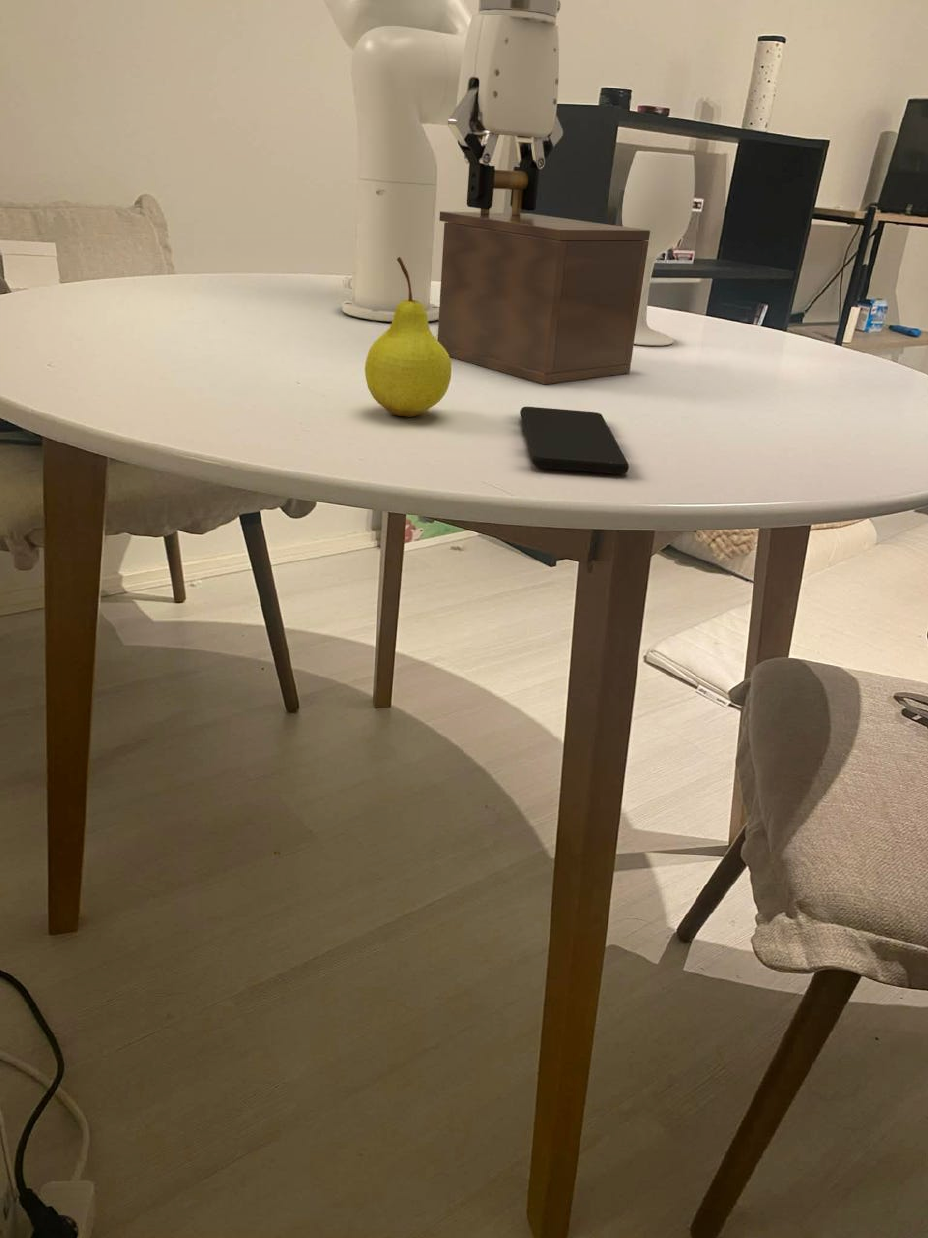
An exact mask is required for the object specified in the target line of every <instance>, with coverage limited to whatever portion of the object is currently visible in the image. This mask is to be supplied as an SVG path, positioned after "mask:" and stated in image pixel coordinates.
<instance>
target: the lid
mask: <svg viewBox="0 0 928 1238" xmlns="http://www.w3.org/2000/svg"><path fill="white" fill-rule="evenodd" d="M527 185H528V176H527V174H526V173H525V172H523V171H513V170H508V169H507V170H506V169H495V176H494V188H493V190H506V191H507V190H508V191H512V190H514V192H513V204H512V207H511V212H490V211H491V208H490V209H480V211H479V212H477V211H439V217H438V219H439V222H443V223H445V222H449V223H456V224H462V225H468V226H474V227H480V228H487V229H493V230H499V231H505V232H511V233H517V234H524V235H530V236H536V237H542V238H548V239H555V240H649V236H650V230H643V229H635V228H628V227H623V226H621V225H613V224H606V223H600V222H592V221H585V220H579V219H570V218H563V217H556V216H549V215H543V214H535V213H528V212H527V213H525V212H522V209H521V204H522V193H523V190H524V189H525V188H526V187H527Z"/></svg>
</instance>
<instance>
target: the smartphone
mask: <svg viewBox="0 0 928 1238" xmlns="http://www.w3.org/2000/svg"><path fill="white" fill-rule="evenodd" d="M519 414H520V419H521V422H522V427H523V432H524V436H525V439H526V440H525V441H526V444H527V449H528V452H529V457H530V460H531V464H532V466H534V467H535V468H539V469H548V470H549V469H550V470H551V469H552V470H563V471H573V472H574V471H575V472H585V473H586V472H587V473H599V474H600V473H601V474H612V475H613V474H614V475H625V474H626V473H628V471H629V469H630V465H629V463H628V460H627V459H626V457H625V455H624V453H623V451H622V449H621V447H620V446H619V444H618V442H617V440H616V438H615V436H614V434H613V432H612V431H611V429H610V427H609V425H608V423H607V421H606V420H605V418H604V416H603V415H602V413H600V412H595V411H585V410H584V411H583V410H572V409H561V408H549V407H538V406H522V407H521V409H520V412H519Z"/></svg>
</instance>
